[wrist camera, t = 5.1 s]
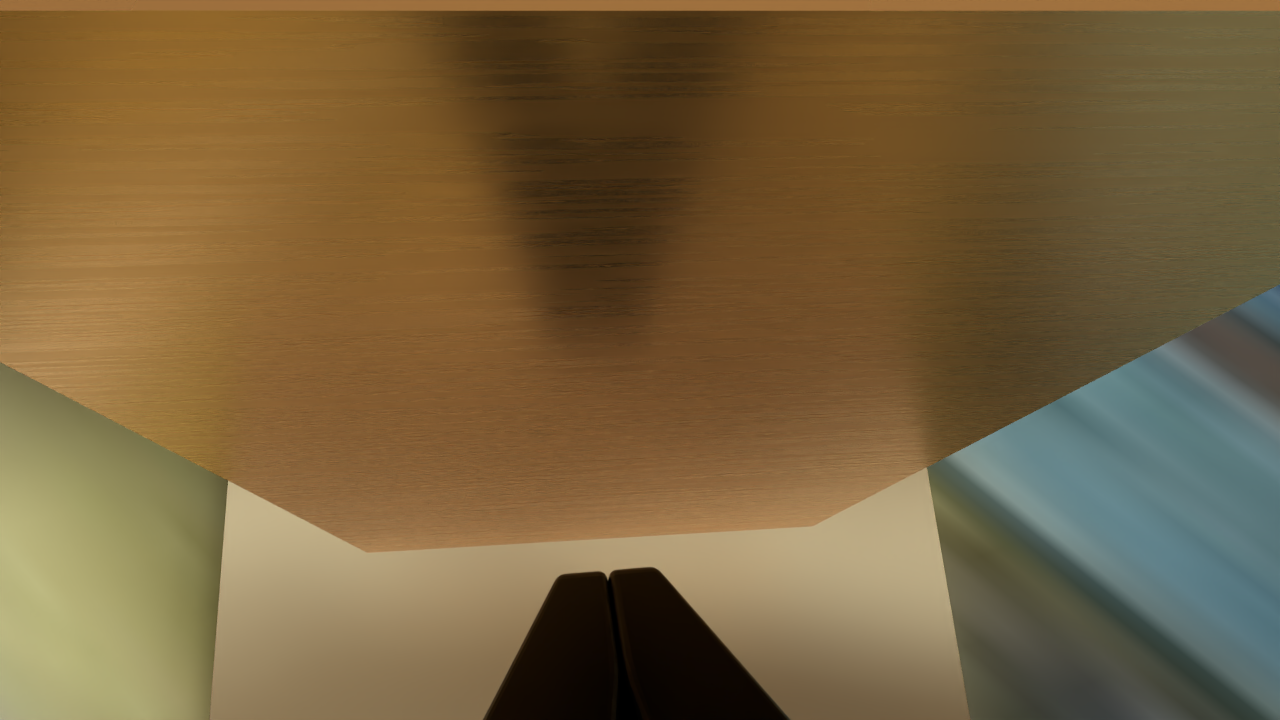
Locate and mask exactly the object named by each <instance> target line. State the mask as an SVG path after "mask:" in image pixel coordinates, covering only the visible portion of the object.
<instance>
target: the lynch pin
mask: <svg viewBox="0 0 1280 720" xmlns="http://www.w3.org/2000/svg"><path fill="white" fill-rule="evenodd" d="M1279 284H1280V0H0V362H1V363H3V364H5V365H7V366H9V367H11V368H13V369H15V370H16V371H18V372H20V373H22V374H24V375H26V376H28V377H30V378H32V379H34V380H36V381H38V382H40V383H41V384H43V385H45V386H47V387H49V388H51V389H53V390H55V391H57V392H59V393H61V394H63V395H65V396H66V397H68V398H70V399H72V400H74V401H76V402H78V403H80V404H82V405H84V406H86V407H88V408H90V409H91V410H93V411H95V412H97V413H99V414H101V415H103V416H105V417H107V418H109V419H111V420H113V421H115V422H116V423H118V424H120V425H122V426H124V427H126V428H128V429H130V430H132V431H134V432H136V433H138V434H140V435H141V436H143V437H145V438H147V439H149V440H151V441H153V442H155V443H157V444H159V445H161V446H163V447H165V448H166V449H168V450H170V451H172V452H174V453H176V454H178V455H180V456H182V457H184V458H186V459H188V460H190V461H191V462H193V463H195V464H197V465H199V466H201V467H203V468H205V469H207V470H209V471H211V472H213V473H215V474H216V475H218V476H220V477H222V478H224V479H226V480H228V481H230V482H232V483H234V484H236V485H238V486H240V487H241V488H243V489H245V490H247V491H249V492H251V493H253V494H255V495H257V496H259V497H261V498H263V499H265V500H266V501H268V502H270V503H272V504H274V505H276V506H278V507H280V508H282V509H284V510H286V511H288V512H290V513H291V514H293V515H295V516H297V517H299V518H301V519H303V520H305V521H307V522H309V523H311V524H313V525H315V526H316V527H318V528H320V529H322V530H324V531H326V532H328V533H330V534H332V535H334V536H336V537H338V538H340V539H341V540H343V541H345V542H347V543H349V544H351V545H353V546H355V547H357V548H359V549H361V550H363V551H365V552H366V553H373V552H390V551H407V550H424V549H440V548H457V547H474V546H491V545H508V544H524V543H541V542H558V541H575V540H592V539H608V538H625V537H642V536H659V535H676V534H692V533H709V532H726V531H743V530H760V529H777V528H793V527H810V526H814V525H816V524H818V523H820V522H822V521H824V520H826V519H828V518H830V517H832V516H834V515H835V514H837V513H839V512H841V511H843V510H845V509H847V508H849V507H851V506H853V505H855V504H857V503H859V502H861V501H862V500H864V499H866V498H868V497H870V496H872V495H874V494H876V493H878V492H880V491H882V490H884V489H886V488H888V487H890V486H891V485H893V484H895V483H897V482H899V481H901V480H903V479H905V478H907V477H909V476H911V475H913V474H915V473H917V472H918V471H920V470H922V469H924V468H926V467H928V466H930V465H932V464H934V463H936V462H938V461H940V460H942V459H944V458H945V457H947V456H949V455H951V454H953V453H955V452H957V451H959V450H961V449H963V448H965V447H967V446H969V445H971V444H972V443H974V442H976V441H978V440H980V439H982V438H984V437H986V436H988V435H990V434H992V433H994V432H996V431H998V430H1000V429H1001V428H1003V427H1005V426H1007V425H1009V424H1011V423H1013V422H1015V421H1017V420H1019V419H1021V418H1023V417H1025V416H1027V415H1028V414H1030V413H1032V412H1034V411H1036V410H1038V409H1040V408H1042V407H1044V406H1046V405H1048V404H1050V403H1052V402H1054V401H1055V400H1057V399H1059V398H1061V397H1063V396H1065V395H1067V394H1069V393H1071V392H1073V391H1075V390H1077V389H1079V388H1081V387H1082V386H1084V385H1086V384H1088V383H1090V382H1092V381H1094V380H1096V379H1098V378H1100V377H1102V376H1104V375H1106V374H1108V373H1110V372H1111V371H1113V370H1115V369H1117V368H1119V367H1121V366H1123V365H1125V364H1127V363H1129V362H1131V361H1133V360H1135V359H1137V358H1138V357H1140V356H1142V355H1144V354H1146V353H1148V352H1150V351H1152V350H1154V349H1156V348H1158V347H1160V346H1162V345H1164V344H1165V343H1167V342H1169V341H1171V340H1173V339H1175V338H1177V337H1179V336H1181V335H1183V334H1185V333H1187V332H1189V331H1191V330H1192V329H1194V328H1196V327H1198V326H1200V325H1202V324H1204V323H1206V322H1208V321H1210V320H1212V319H1214V318H1216V317H1218V316H1219V315H1221V314H1223V313H1225V312H1227V311H1229V310H1231V309H1233V308H1235V307H1237V306H1239V305H1241V304H1243V303H1245V302H1247V301H1248V300H1250V299H1252V298H1254V297H1256V296H1258V295H1260V294H1262V293H1264V292H1266V291H1268V290H1270V289H1272V288H1274V287H1275V286H1277V285H1279Z"/></svg>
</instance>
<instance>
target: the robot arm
mask: <svg viewBox="0 0 1280 720" xmlns="http://www.w3.org/2000/svg"><path fill="white" fill-rule="evenodd" d="M483 720H791V719H790V718H789V717H788V716H787V715H786V714H785V713H784V711H783V710H782V709H781V708H780V707H779V706H778V705H777V703H776V702H775V701H774V700H773V699H772V698H771V697H770V696H769V694H768V693H767V692H766V691H765V690H764V689H763V688H762V686H761V685H760V684H759V683H758V682H757V681H756V680H755V678H754V677H753V676H752V675H751V674H750V673H749V672H748V670H747V669H746V668H745V667H744V666H743V665H742V664H741V663H740V661H739V660H738V659H737V658H736V657H735V656H734V655H733V653H732V652H731V651H730V650H729V649H728V648H727V647H726V645H725V644H724V643H723V642H722V641H721V640H720V639H719V637H718V636H717V635H716V634H715V633H714V632H713V631H712V629H711V628H710V627H709V626H708V625H707V624H706V623H705V622H704V620H703V619H702V618H701V617H700V616H699V615H698V614H697V612H696V611H695V610H694V609H693V608H692V607H691V606H690V604H689V603H688V602H687V601H686V600H685V599H684V598H683V596H682V595H681V594H680V593H679V592H678V591H677V590H676V588H675V587H674V586H673V585H672V584H671V583H670V582H669V581H668V579H667V578H666V577H665V576H664V575H663V574H662V573H661V572H660V571H659V570H658V569H656V568H654V567H642V568H630V569H617V570H613V571H612V572H611V573H610V575H609V577H608V579H607V576H606V575H605V573H603V572H601V571H593V572H580V573H568V574H562V575H560V576H558V577H557V578H556V580H555V581H554V583H553V585H552V587H551V589H550V591H549V592H548V594H547V596H546V598H545V600H544V602H543V604H542V606H541V608H540V610H539V612H538V614H537V616H536V618H535V619H534V621H533V623H532V625H531V627H530V629H529V631H528V633H527V635H526V637H525V639H524V641H523V643H522V645H521V646H520V648H519V650H518V652H517V654H516V656H515V658H514V660H513V662H512V664H511V666H510V668H509V670H508V672H507V673H506V675H505V677H504V679H503V681H502V683H501V685H500V687H499V689H498V691H497V693H496V695H495V697H494V699H493V700H492V702H491V704H490V706H489V708H488V710H487V712H486V714H485V716H484V718H483Z"/></svg>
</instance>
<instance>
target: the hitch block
mask: <svg viewBox="0 0 1280 720" xmlns="http://www.w3.org/2000/svg"><path fill="white" fill-rule="evenodd" d="M642 567H654V568H656V569H658V570H659V571H660V572H661V573H662V574H663V575H664V576H665V577H666V578H667V579H668V581H669V582H670V583H671V584H672V585H673V586H674V587H675V588H676V590H677V591H678V592H679V593H680V594H681V595H682V596H683V598H684V599H685V600H686V601H687V602H688V603H689V604H690V606H691V607H692V608H693V609H694V610H695V611H696V612H697V614H698V615H699V616H700V617H701V618H702V619H703V620H704V622H705V623H706V624H707V625H708V626H709V627H710V628H711V629H712V631H713V632H714V633H715V634H716V635H717V636H718V637H719V639H720V640H721V641H722V642H723V643H724V644H725V645H726V647H727V648H728V649H729V650H730V651H731V652H732V653H733V655H734V656H735V657H736V658H737V659H738V660H739V661H740V663H741V664H742V665H743V666H744V667H745V668H746V669H747V670H748V672H749V673H750V674H751V675H752V676H753V677H754V678H755V680H756V681H757V682H758V683H759V684H760V685H761V686H762V688H763V689H764V690H765V691H766V692H767V693H768V694H769V696H770V697H771V698H772V699H773V700H774V701H775V702H776V703H777V705H778V706H779V707H780V708H781V709H782V710H783V711H784V713H785V714H786V715H787V716H788V717H789V718H790V719H791V720H970V715H969V709H968V703H967V698H966V692H965V686H964V680H963V674H962V669H961V663H960V657H959V651H958V645H957V640H956V634H955V628H954V622H953V617H952V611H951V605H950V599H949V593H948V588H947V582H946V576H945V570H944V564H943V559H942V553H941V547H940V541H939V535H938V530H937V524H936V518H935V512H934V507H933V501H932V495H931V489H930V483H929V478H928V472H927V467H926V468H924V469H922V470H920V471H918V472H917V473H915V474H913V475H911V476H909V477H907V478H905V479H903V480H901V481H899V482H897V483H895V484H893V485H891V486H890V487H888V488H886V489H884V490H882V491H880V492H878V493H876V494H874V495H872V496H870V497H868V498H866V499H864V500H862V501H861V502H859V503H857V504H855V505H853V506H851V507H849V508H847V509H845V510H843V511H841V512H839V513H837V514H835V515H834V516H832V517H830V518H828V519H826V520H824V521H822V522H820V523H818V524H816V525H814V526H810V527H793V528H777V529H760V530H743V531H726V532H709V533H692V534H676V535H659V536H642V537H625V538H608V539H592V540H575V541H558V542H541V543H524V544H508V545H491V546H474V547H457V548H440V549H424V550H407V551H390V552H373V553H366V552H365V551H363V550H361V549H359V548H357V547H355V546H353V545H351V544H349V543H347V542H345V541H343V540H341V539H340V538H338V537H336V536H334V535H332V534H330V533H328V532H326V531H324V530H322V529H320V528H318V527H316V526H315V525H313V524H311V523H309V522H307V521H305V520H303V519H301V518H299V517H297V516H295V515H293V514H291V513H290V512H288V511H286V510H284V509H282V508H280V507H278V506H276V505H274V504H272V503H270V502H268V501H266V500H265V499H263V498H261V497H259V496H257V495H255V494H253V493H251V492H249V491H247V490H245V489H243V488H241V487H240V486H238V485H236V484H234V483H232V482H230V481H228V489H227V502H226V515H225V528H224V540H223V553H222V566H221V579H220V592H219V604H218V617H217V630H216V643H215V655H214V668H213V681H212V694H211V707H210V719H209V720H483V718H484V716H485V714H486V712H487V710H488V708H489V706H490V704H491V702H492V700H493V699H494V697H495V695H496V693H497V691H498V689H499V687H500V685H501V683H502V681H503V679H504V677H505V675H506V673H507V672H508V670H509V668H510V666H511V664H512V662H513V660H514V658H515V656H516V654H517V652H518V650H519V648H520V646H521V645H522V643H523V641H524V639H525V637H526V635H527V633H528V631H529V629H530V627H531V625H532V623H533V621H534V619H535V618H536V616H537V614H538V612H539V610H540V608H541V606H542V604H543V602H544V600H545V598H546V596H547V594H548V592H549V591H550V589H551V587H552V585H553V583H554V581H555V580H556V578H557V577H558V576H560V575H562V574H568V573H580V572H593V571H601V572H603V573H605V575H606V576H607V579H608V577H609V575H610V573H611V572H612V571H613V570H617V569H630V568H642Z"/></svg>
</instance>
